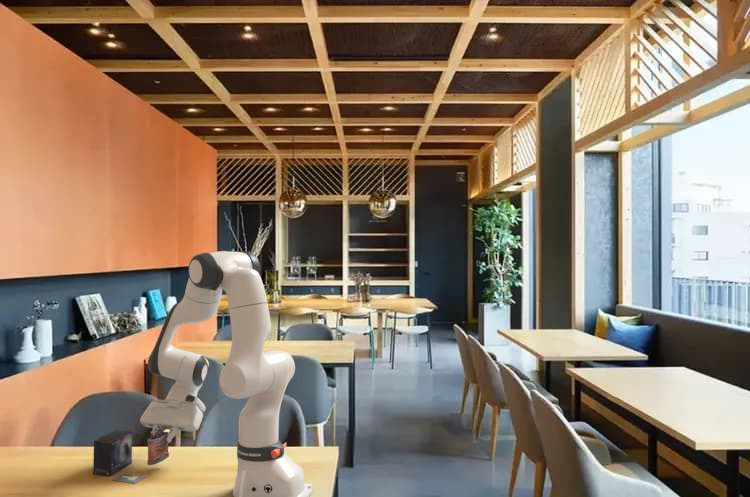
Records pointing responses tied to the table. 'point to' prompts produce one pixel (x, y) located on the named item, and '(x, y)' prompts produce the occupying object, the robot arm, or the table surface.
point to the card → (129, 478)
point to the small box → (112, 452)
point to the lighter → (157, 446)
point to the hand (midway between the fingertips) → (160, 441)
